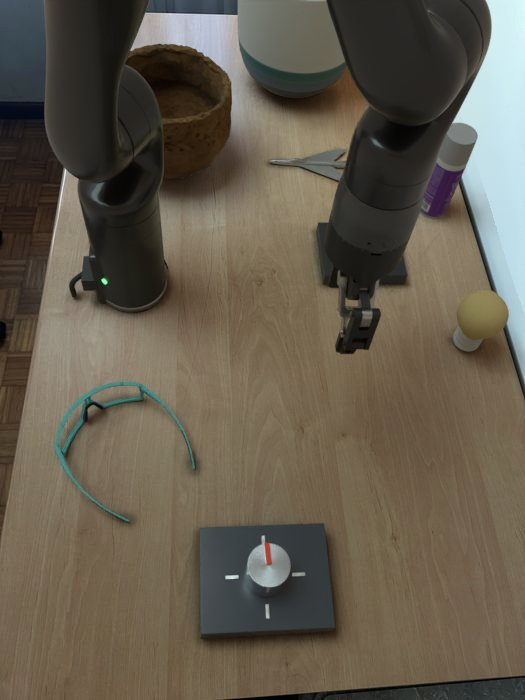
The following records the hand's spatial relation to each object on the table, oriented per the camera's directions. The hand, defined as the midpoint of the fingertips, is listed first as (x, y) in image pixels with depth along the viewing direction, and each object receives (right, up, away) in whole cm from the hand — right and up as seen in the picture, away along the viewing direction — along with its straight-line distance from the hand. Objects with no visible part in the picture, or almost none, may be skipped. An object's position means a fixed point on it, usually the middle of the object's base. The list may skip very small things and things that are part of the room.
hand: (340, 317), depth 73 cm
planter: (-4, +44, +46) cm, 64 cm away
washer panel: (-9, -30, +1) cm, 31 cm away
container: (+18, +19, +32) cm, 42 cm away
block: (+6, +10, +26) cm, 28 cm away
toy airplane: (+3, +26, +36) cm, 44 cm away
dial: (-8, -28, -2) cm, 29 cm away
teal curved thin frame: (-25, -16, +8) cm, 31 cm away
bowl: (-23, +27, +34) cm, 49 cm away
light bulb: (+20, -3, +19) cm, 28 cm away
